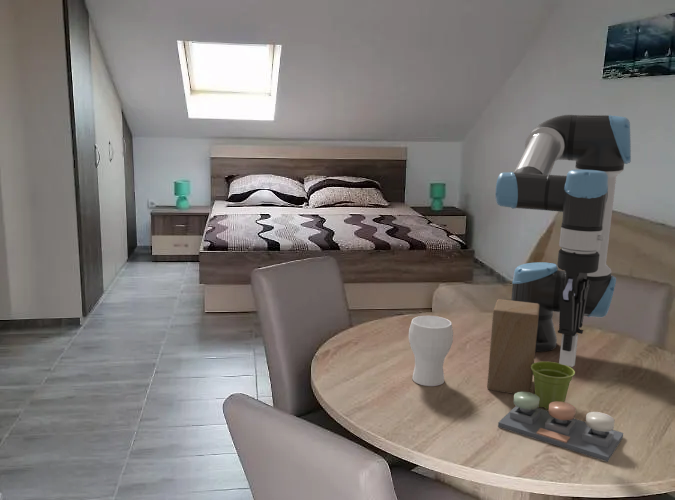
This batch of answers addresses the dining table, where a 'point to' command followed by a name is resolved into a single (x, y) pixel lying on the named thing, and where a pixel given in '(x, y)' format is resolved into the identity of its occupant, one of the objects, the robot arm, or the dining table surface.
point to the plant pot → (551, 381)
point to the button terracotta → (562, 411)
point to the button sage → (526, 401)
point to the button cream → (599, 422)
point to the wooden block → (512, 346)
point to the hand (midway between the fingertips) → (566, 364)
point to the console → (562, 432)
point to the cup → (430, 348)
